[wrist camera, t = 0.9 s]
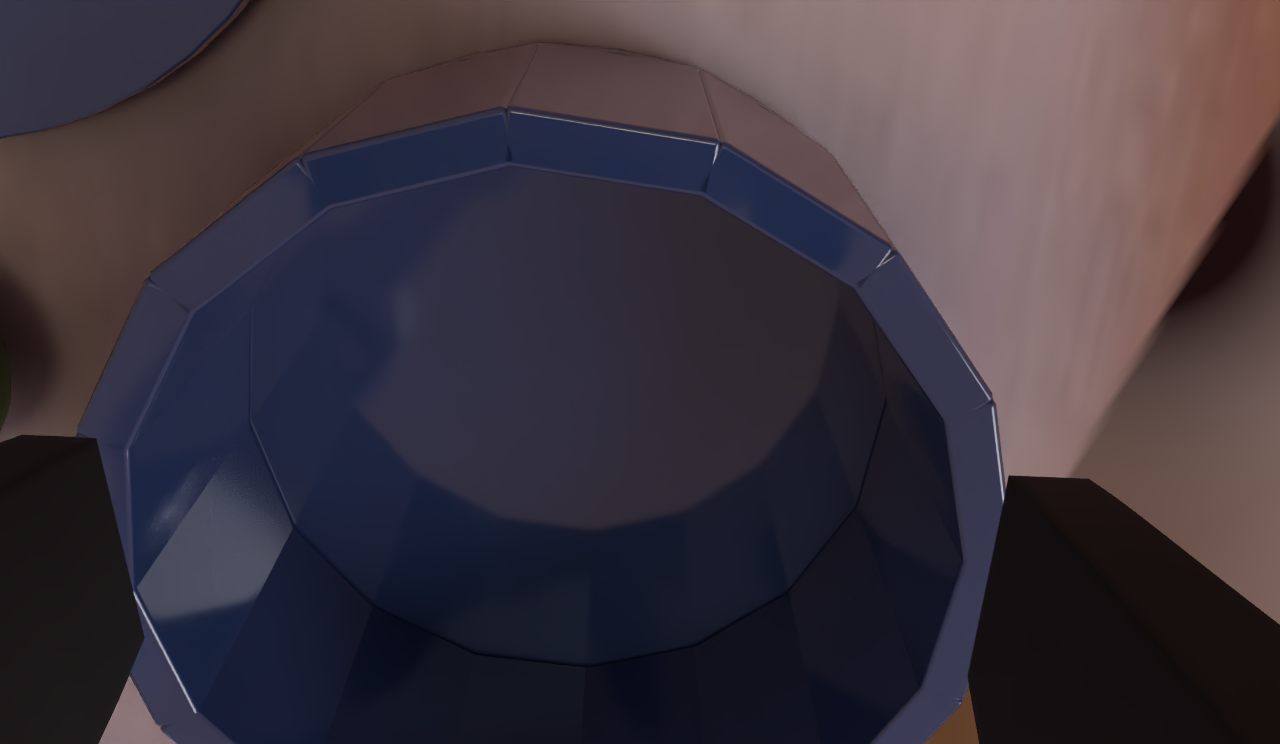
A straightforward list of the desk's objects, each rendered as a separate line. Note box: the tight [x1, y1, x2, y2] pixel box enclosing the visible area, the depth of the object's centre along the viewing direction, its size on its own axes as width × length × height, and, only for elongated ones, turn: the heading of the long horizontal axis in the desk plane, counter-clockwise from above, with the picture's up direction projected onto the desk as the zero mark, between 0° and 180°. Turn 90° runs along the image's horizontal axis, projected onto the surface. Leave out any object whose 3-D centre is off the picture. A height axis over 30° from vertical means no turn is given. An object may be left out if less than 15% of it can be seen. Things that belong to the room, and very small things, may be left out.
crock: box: [76, 42, 1006, 744], centre depth 18 cm, size 12×12×6 cm
